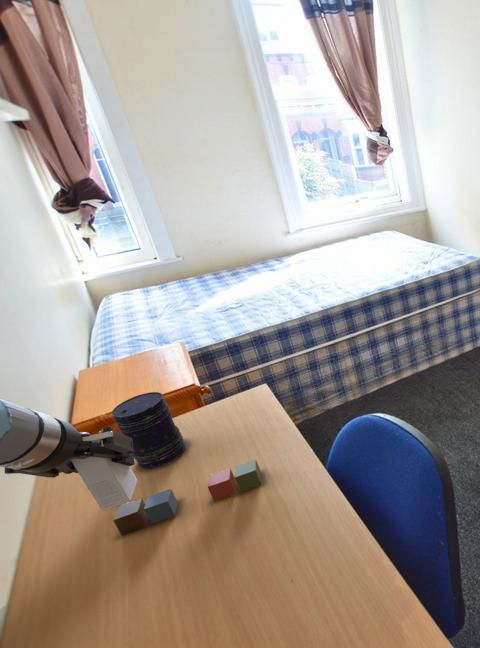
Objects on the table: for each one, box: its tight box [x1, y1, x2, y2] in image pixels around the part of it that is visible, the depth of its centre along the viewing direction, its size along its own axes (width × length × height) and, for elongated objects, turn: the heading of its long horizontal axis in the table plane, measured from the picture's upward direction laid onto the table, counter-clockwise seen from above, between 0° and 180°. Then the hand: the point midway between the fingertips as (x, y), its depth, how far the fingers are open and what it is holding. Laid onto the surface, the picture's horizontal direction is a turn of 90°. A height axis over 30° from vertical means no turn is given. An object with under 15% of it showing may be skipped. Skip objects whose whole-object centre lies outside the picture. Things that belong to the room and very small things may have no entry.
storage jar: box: [111, 391, 187, 470], centre depth 110 cm, size 10×10×15 cm
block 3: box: [207, 467, 237, 502], centre depth 99 cm, size 4×4×4 cm
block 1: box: [112, 497, 149, 536], centre depth 93 cm, size 4×4×4 cm
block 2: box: [144, 488, 179, 525], centre depth 95 cm, size 4×4×4 cm
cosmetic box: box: [71, 457, 138, 512], centre depth 82 cm, size 6×4×12 cm
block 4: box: [234, 459, 262, 493], centre depth 101 cm, size 4×4×4 cm
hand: (115, 463), depth 86 cm, fingers closed on cosmetic box, 4 cm apart
